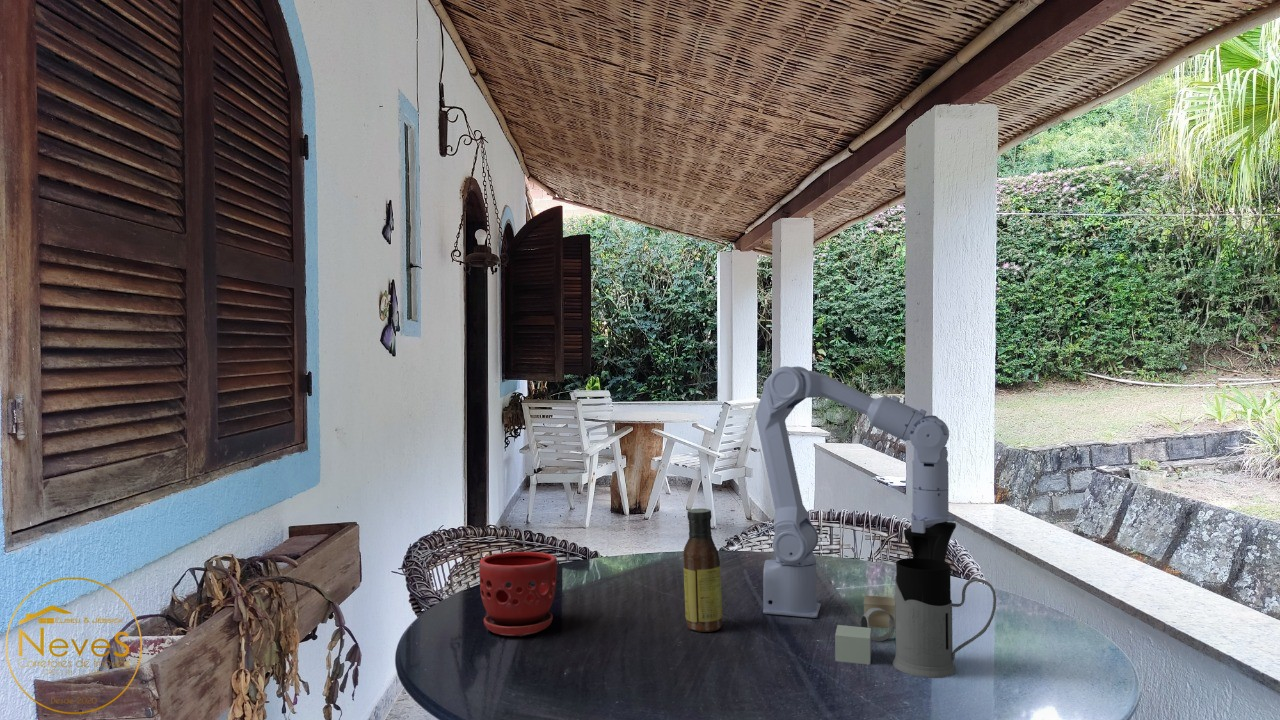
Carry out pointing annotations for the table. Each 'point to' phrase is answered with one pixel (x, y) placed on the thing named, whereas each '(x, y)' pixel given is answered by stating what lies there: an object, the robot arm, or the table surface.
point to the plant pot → (518, 591)
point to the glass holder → (927, 618)
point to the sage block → (853, 644)
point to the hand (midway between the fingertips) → (930, 568)
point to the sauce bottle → (702, 575)
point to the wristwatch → (866, 624)
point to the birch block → (879, 617)
